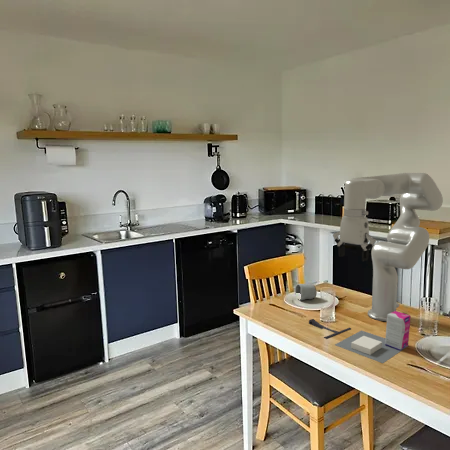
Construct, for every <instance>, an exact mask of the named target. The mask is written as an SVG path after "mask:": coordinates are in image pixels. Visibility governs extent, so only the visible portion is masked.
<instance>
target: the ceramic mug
mask: <svg viewBox="0 0 450 450" xmlns="http://www.w3.org/2000/svg"><path fill="white" fill-rule="evenodd" d="M294 293H295V294H296V293H300V294H301V299H300V300H299V301H306V300H305V299H309V300H314V299H315V298H317V297H316V296H317V287H316V286H315V284H312V283H297V284H296V285H295V292H294ZM313 298H314V299H313Z"/></svg>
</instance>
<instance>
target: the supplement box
mask: <svg viewBox="0 0 450 450" xmlns="http://www.w3.org/2000/svg"><path fill="white" fill-rule="evenodd" d="M385 326H386V329H385V330H386V331H385V338H386V339H385V346H388V347H391V348H394V349H396V350H399V351H400V350H402V349H403V348H405V347H406V348H408V347H409V339H410V330H411V329H410V328H411V327H410V326H411V315H410V314H406V313H404V312H400V311H397V310H396V311H394V312H392V313H390V314H388V315H387V321H386V325H385ZM407 346H408V347H407ZM406 348H405V349H406ZM403 350H404V349H403ZM403 350H402V351H403ZM400 352H401V351H400Z"/></svg>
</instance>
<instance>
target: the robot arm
mask: <svg viewBox="0 0 450 450" xmlns="http://www.w3.org/2000/svg"><path fill="white" fill-rule="evenodd" d="M440 190H441V189H439V187H438V185H437V183H436V182H435V180H434V179H433V178H432V176H431V175H429V174H428V173H426V172H400V173H393V174H383V175H373V176H361V177H355V178H354V177H353V178H351V179H349V180H346V181H345V183H344V196H343V197H344V199H343V206H344V207H343V216H342V218H341V220H340V226H339V231H337V232H334V233H333V234H332V237H333V239H334V242H335V243H336V246H337V247H338V249H337V250H338V257H339V258H341V257H342V258H343V257H345V255H346V246H345V244H350V245H359V246H361V248H362V251H361V261H362V262H366V261H368V260H369V255H370V254H369V253H370V250H371V261H372V269H373V270H372V275H373V276H372V295H371V309H368V311H367V316H369V318H371V319H374V320H376V321H380V322H387V315H388V314H390V313H392V312H394V311H397V308H399V307H400V304H399V303H398V302H397V301H398V300H397V299H398V281H399V277H398V272H397V270H396V268H397V269H402V270H411V269H412V268H414V267H415V265H416V264H417V263H418V261H419V260H420V259H421V256H423V254H424V253H425V251H426V249H427V248H428V246H429V243H430V233H429V231H428V230H427V228H425V227H420V224H421V221H420V220H421V219H420V218H419V215H418V214H417V212H416V210H417V211H418V210H419V211H431V212H433V211H438V210H439V209H440V208H442V206H443V201H444V199H443V194H442V192H441V191H440ZM398 195H400V198H399V211H400V212H399V213H400V215H399V218H398V219H397V221H396V222H395V223H394V225H393V226H392V227H391V229H390V230H389V231H388V233H387V236H386V239H387V241H378V242H377V239H376V238H374V236H372V235H371V234H370V228H369V227H370V226H369V219H368V217H367V216H368V215H369V211H368V210H366V204H367V203H366V200H367V199H368V200H369V199H370V200H376V199H380V198H381V197H391V196H392V197H393V196H398Z"/></svg>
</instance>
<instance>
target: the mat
mask: <svg viewBox="0 0 450 450" xmlns="http://www.w3.org/2000/svg"><path fill="white" fill-rule="evenodd" d="M362 336H366V337H369V338H372V339H375V340H378V341H381V342H382V348H380V349H379V350H377V351H376V352H374V353H372V354H371V355H369V354H366V353H363V352H361V351H358V350H355V349H353V348H351V342H353V341H355V340H357V339H359V338H360V337H362ZM385 339H386V337H382V336H380V335H376V334H374V333H371V332H367V331H366V330H365V331H364V330H362V329H361V330H359V331H358V332H356V333H354V334H352V335H350V336H348V337H347V338H344V339H343V340H341V341H339V342H337V343H335V344H334V346H336V347H339V348H342V349H345V350H347V351H349V352H351V353H355V354H358V355H359V356H362V357H365V358H367V359H370V360H373V361H375V362H378V363H381V364H384V363H386V362H387V361H390V359H391V358H393V357H395V356H396V355H398V354H399V353H400V352H402V351H404V349H406V348H408V347H409V345H408V346H407V347H405V348H403V349H402V350H400V351H399V350H396V349H394V348H391V347H388V346H385Z"/></svg>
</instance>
